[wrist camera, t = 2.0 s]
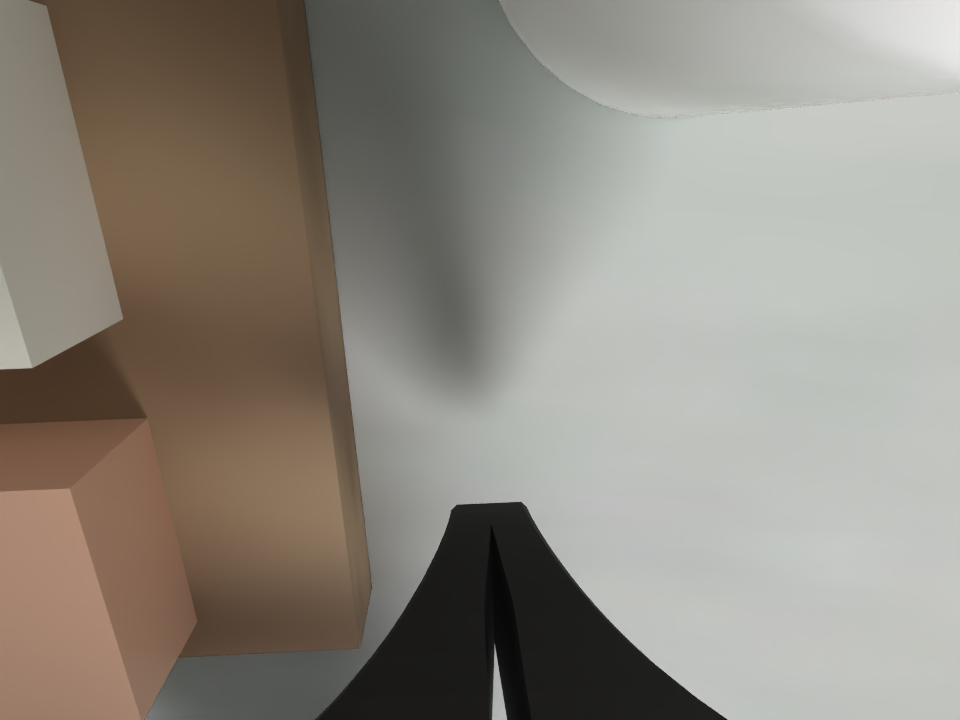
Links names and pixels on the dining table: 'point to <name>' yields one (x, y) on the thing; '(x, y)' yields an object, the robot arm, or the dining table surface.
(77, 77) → the board
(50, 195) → the tile cream
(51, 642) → the tile terracotta
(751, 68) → the pill bottle
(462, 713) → the robot arm
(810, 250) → the dining table surface
